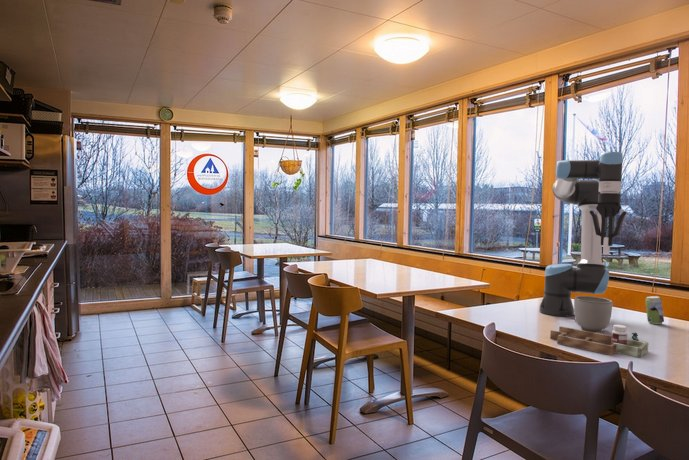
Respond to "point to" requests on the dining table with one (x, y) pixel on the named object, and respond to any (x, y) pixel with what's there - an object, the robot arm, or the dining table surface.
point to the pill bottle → (619, 334)
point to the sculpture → (635, 336)
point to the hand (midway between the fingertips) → (606, 254)
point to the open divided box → (630, 349)
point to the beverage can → (654, 310)
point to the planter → (592, 313)
